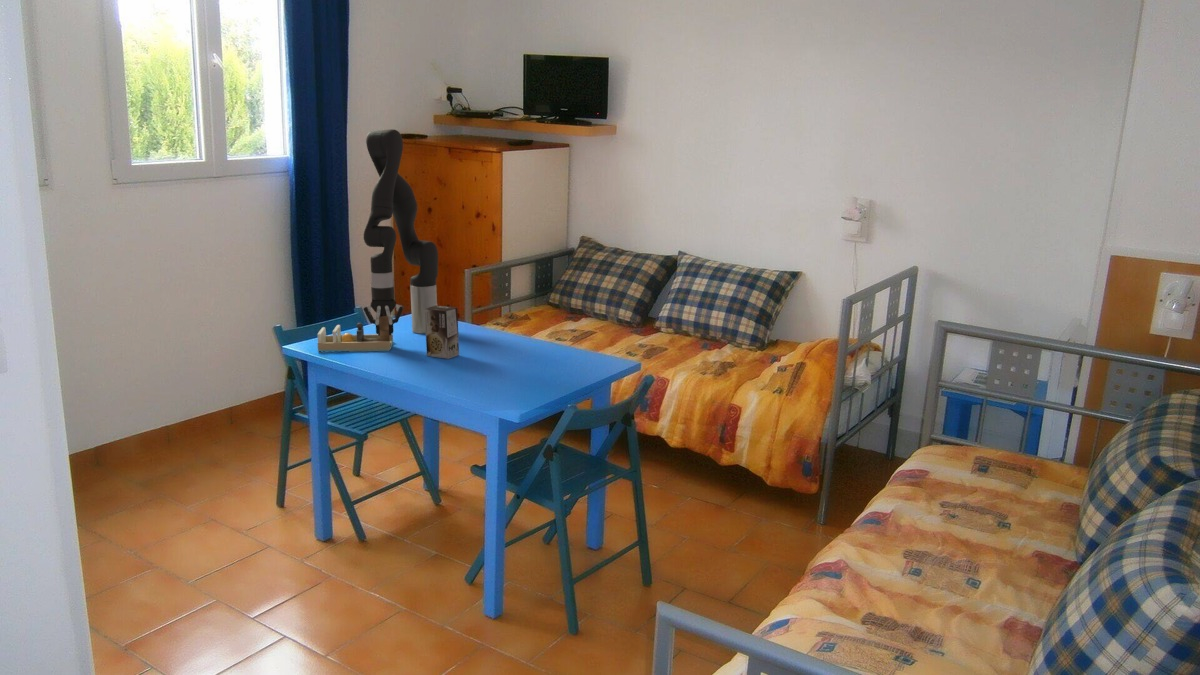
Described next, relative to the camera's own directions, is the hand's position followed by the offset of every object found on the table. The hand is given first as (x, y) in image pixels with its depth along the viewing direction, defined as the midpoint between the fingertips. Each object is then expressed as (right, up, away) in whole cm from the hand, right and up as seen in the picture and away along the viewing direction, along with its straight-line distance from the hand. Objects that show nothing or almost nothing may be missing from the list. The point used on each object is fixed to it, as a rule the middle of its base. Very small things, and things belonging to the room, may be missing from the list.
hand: (384, 334), depth 319 cm
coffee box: (+22, -7, -10) cm, 25 cm away
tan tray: (-10, -4, 0) cm, 11 cm away
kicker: (-4, -3, 0) cm, 5 cm away
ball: (-12, -1, -1) cm, 13 cm away
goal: (-18, -4, -1) cm, 19 cm away
